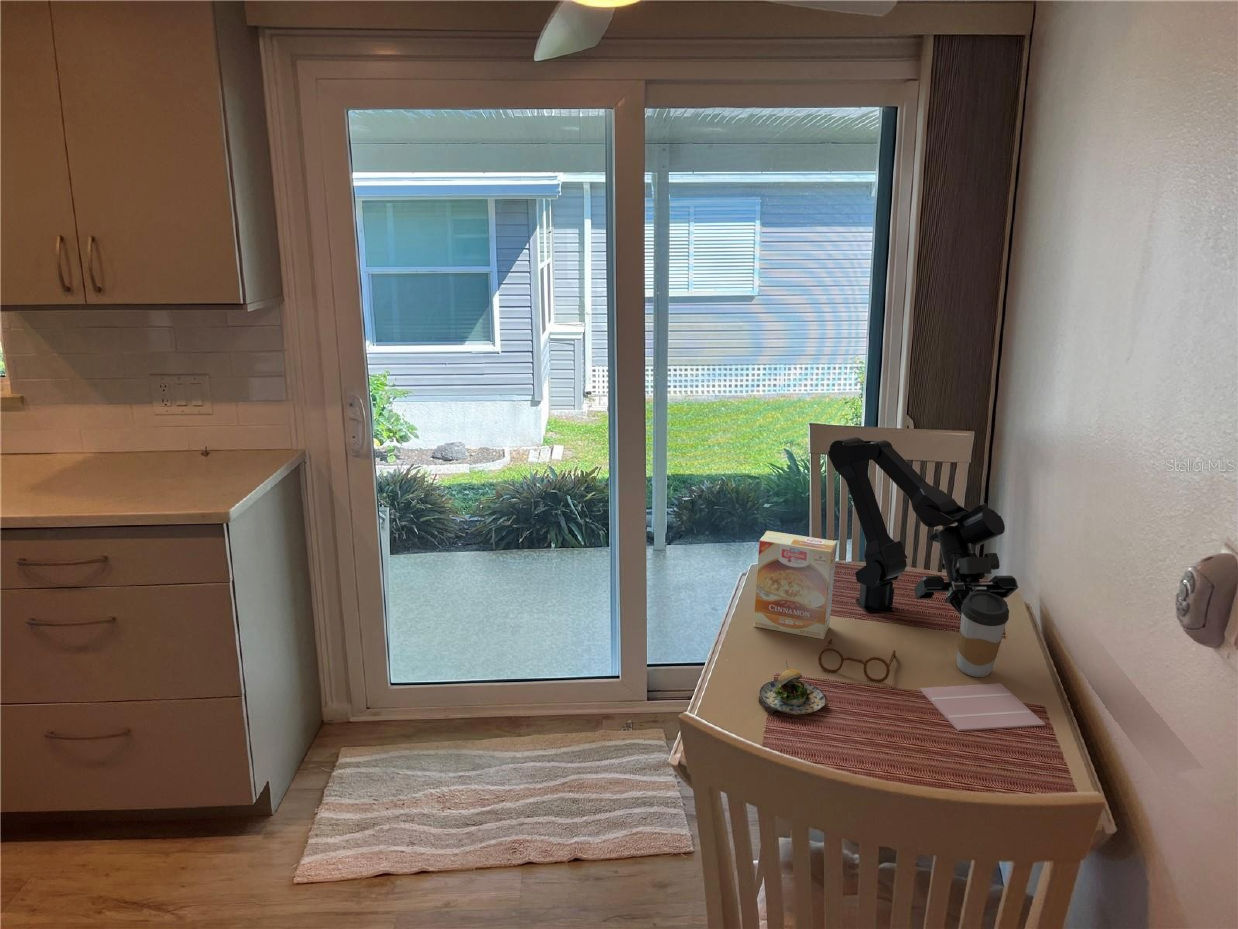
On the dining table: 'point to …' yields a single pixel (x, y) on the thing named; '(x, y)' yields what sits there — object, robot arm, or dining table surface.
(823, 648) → the glasses
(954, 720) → the pink napkin
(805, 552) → the coffeecake box
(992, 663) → the coffee cup
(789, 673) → the burger
